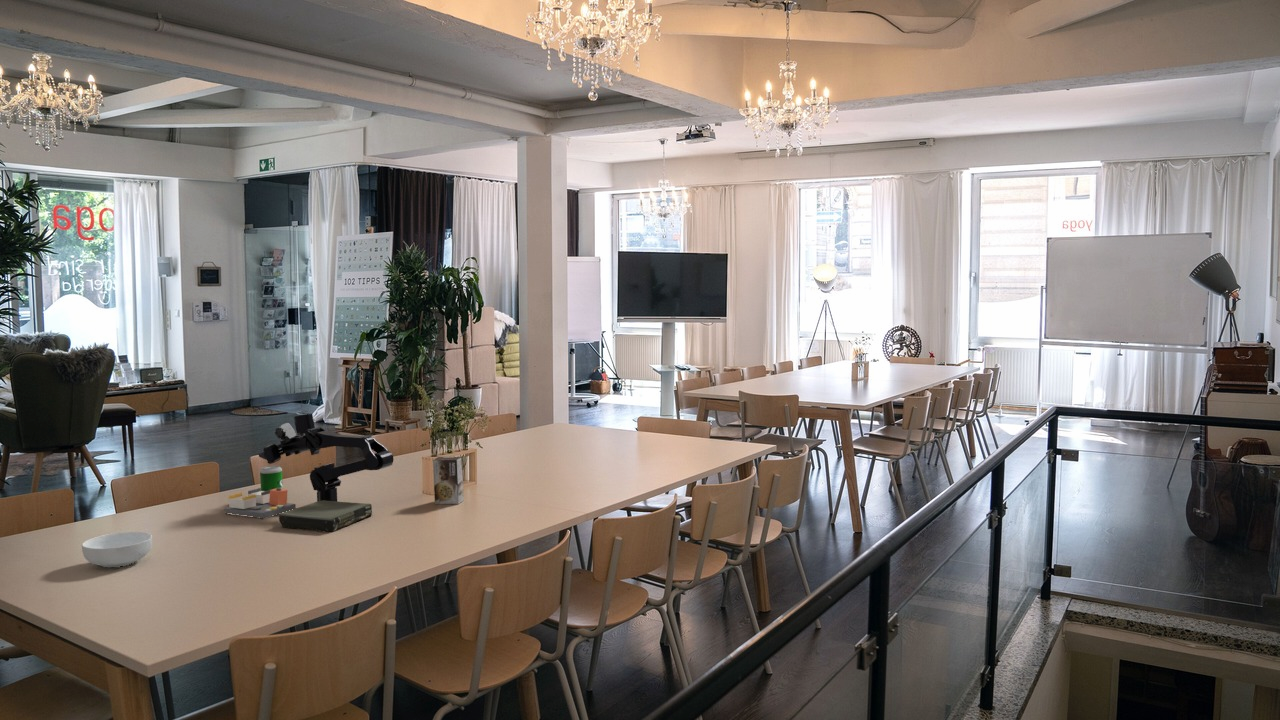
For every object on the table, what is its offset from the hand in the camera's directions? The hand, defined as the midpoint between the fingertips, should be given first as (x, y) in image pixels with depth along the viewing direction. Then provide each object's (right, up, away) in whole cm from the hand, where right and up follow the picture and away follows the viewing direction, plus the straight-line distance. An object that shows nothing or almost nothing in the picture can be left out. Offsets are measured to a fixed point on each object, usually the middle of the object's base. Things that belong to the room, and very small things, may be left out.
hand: (267, 451), depth 318 cm
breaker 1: (-1, -17, -18) cm, 25 cm away
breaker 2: (+2, -17, -10) cm, 20 cm away
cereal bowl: (-10, -24, -73) cm, 78 cm away
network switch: (+32, -21, -30) cm, 49 cm away
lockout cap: (+9, -17, -14) cm, 24 cm away
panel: (+4, -19, -15) cm, 25 cm away
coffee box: (+67, -18, -5) cm, 70 cm away
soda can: (0, -18, +4) cm, 19 cm away
